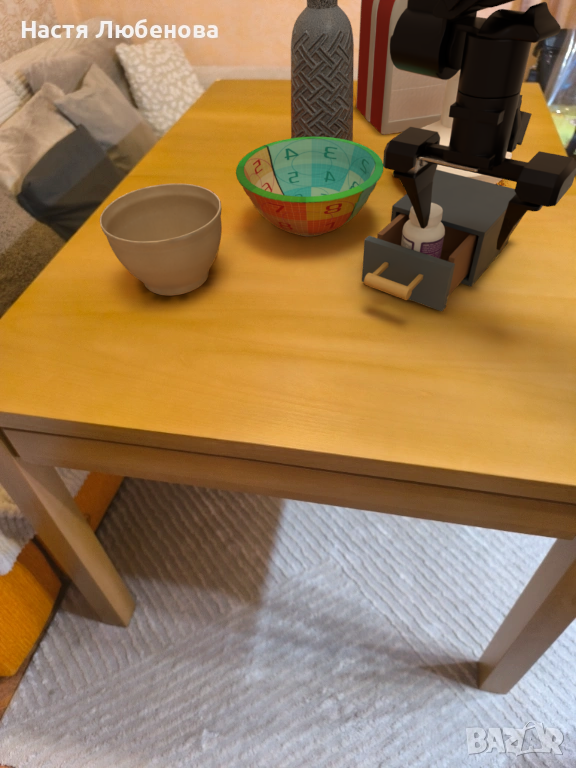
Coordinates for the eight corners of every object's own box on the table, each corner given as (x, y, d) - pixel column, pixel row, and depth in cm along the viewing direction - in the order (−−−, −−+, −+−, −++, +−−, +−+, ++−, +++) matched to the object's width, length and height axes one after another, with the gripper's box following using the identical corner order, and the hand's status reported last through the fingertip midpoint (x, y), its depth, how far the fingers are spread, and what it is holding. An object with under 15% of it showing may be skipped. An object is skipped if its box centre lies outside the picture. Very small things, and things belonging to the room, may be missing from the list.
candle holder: (529, 185, 93) (566, 61, 79) (444, 219, 86) (467, 91, 72) (448, 148, 105) (468, 35, 91) (368, 175, 99) (376, 58, 85)
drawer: (424, 332, 66) (432, 288, 61) (342, 299, 72) (343, 257, 67) (480, 266, 75) (491, 223, 71) (403, 241, 81) (409, 200, 76)
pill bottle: (439, 266, 74) (451, 201, 67) (434, 288, 71) (446, 222, 64) (401, 260, 76) (409, 196, 69) (393, 281, 72) (401, 216, 65)
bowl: (407, 232, 84) (415, 170, 77) (288, 280, 77) (285, 217, 69) (326, 181, 98) (327, 124, 90) (219, 217, 90) (210, 159, 83)
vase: (364, 154, 105) (375, -23, 85) (317, 172, 100) (316, -10, 80) (325, 136, 112) (326, -32, 92) (279, 153, 107) (270, -20, 87)
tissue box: (420, 97, 125) (439, -49, 106) (454, 124, 113) (482, -35, 94) (354, 106, 123) (360, -41, 104) (381, 135, 111) (394, -25, 92)
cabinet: (471, 286, 74) (485, 232, 68) (386, 257, 80) (392, 205, 74) (507, 243, 81) (522, 190, 75) (427, 219, 87) (435, 169, 81)
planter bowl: (249, 259, 81) (241, 191, 73) (195, 322, 71) (179, 251, 63) (161, 240, 86) (145, 175, 78) (99, 296, 76) (73, 228, 68)
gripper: (618, 77, 50) (566, 228, 61) (436, 56, 59) (419, 191, 70) (582, 115, 44) (532, 274, 55) (385, 84, 53) (376, 227, 64)
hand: (460, 237), depth 61 cm, fingers open, 9 cm apart
